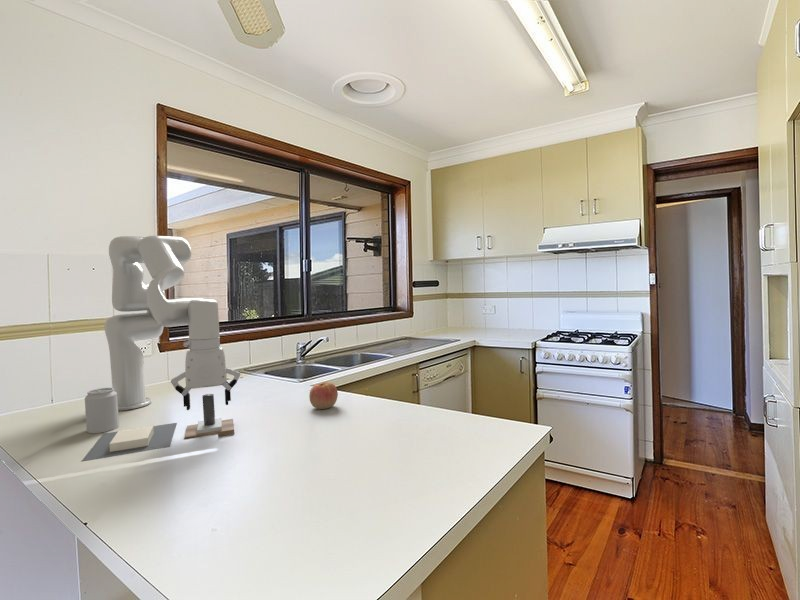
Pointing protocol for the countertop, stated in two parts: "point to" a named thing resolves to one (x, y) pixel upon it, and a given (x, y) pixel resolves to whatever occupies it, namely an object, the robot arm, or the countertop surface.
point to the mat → (158, 440)
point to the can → (101, 410)
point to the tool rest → (226, 430)
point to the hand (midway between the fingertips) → (208, 406)
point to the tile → (131, 438)
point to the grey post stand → (209, 416)
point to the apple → (323, 395)
